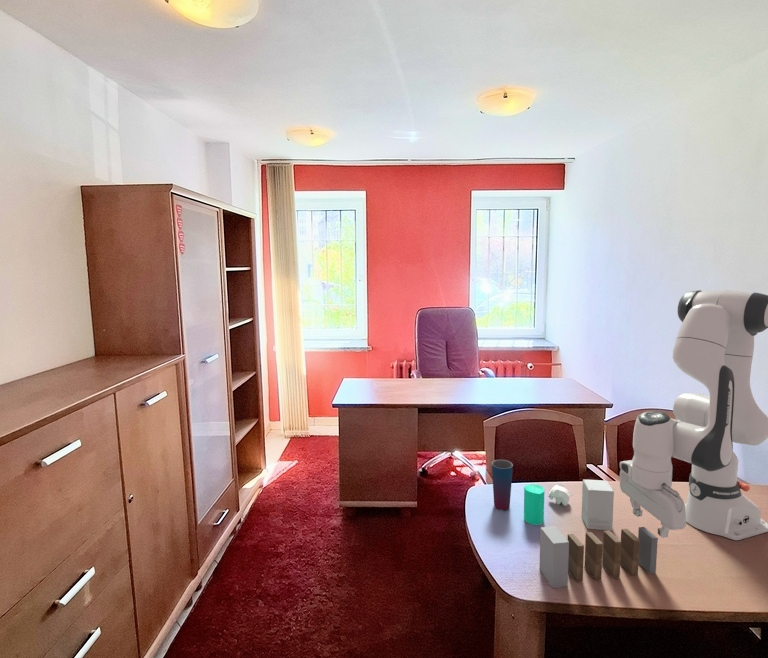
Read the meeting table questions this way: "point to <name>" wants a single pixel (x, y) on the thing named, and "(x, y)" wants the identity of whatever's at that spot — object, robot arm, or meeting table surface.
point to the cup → (502, 483)
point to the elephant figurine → (559, 494)
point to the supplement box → (597, 504)
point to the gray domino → (647, 550)
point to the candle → (534, 504)
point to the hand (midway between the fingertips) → (649, 525)
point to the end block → (554, 556)
